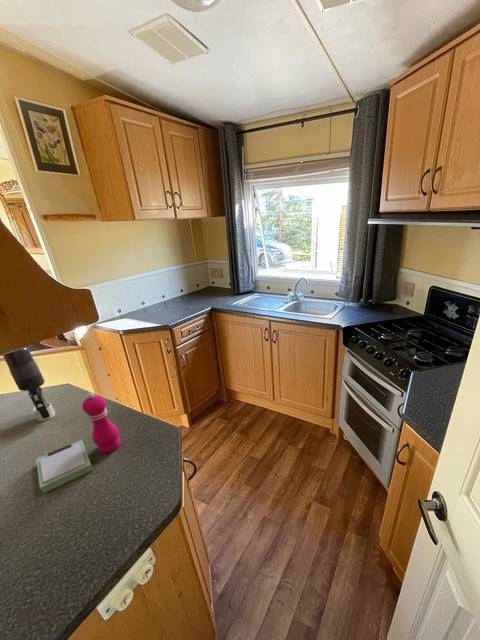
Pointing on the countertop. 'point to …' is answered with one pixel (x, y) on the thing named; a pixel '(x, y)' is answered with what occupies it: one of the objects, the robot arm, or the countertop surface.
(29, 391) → the robot arm
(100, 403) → the pepper mill
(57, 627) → the countertop surface
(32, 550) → the countertop surface
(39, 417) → the dip bowl
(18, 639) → the countertop surface
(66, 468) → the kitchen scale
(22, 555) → the countertop surface
